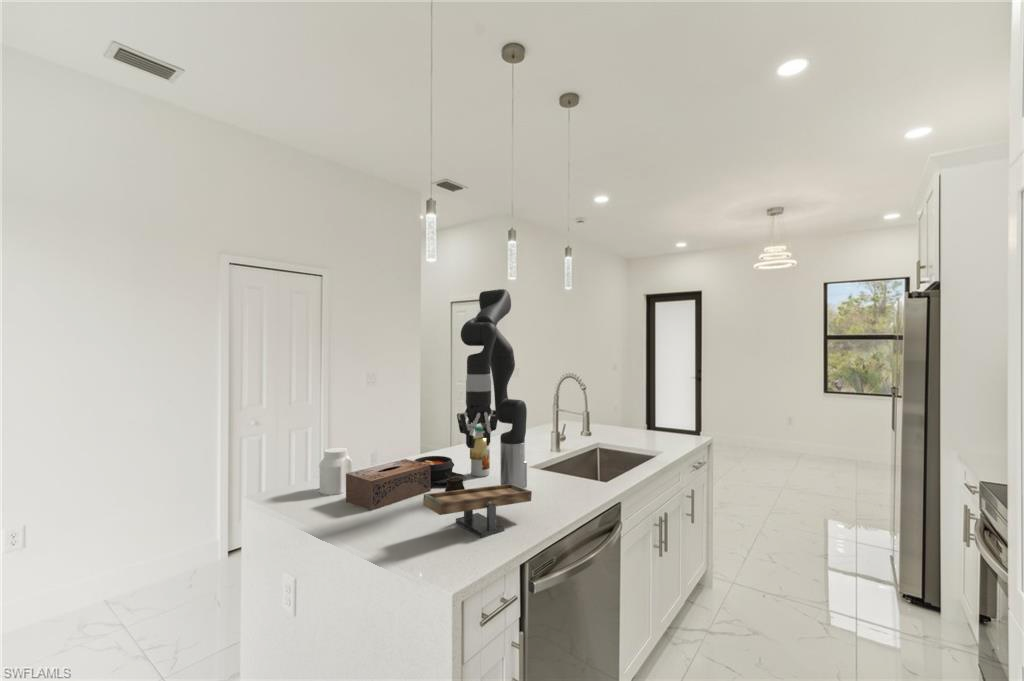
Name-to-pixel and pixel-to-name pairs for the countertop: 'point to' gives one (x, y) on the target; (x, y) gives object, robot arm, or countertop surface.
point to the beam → (475, 498)
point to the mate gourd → (454, 483)
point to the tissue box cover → (387, 483)
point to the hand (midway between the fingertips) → (478, 446)
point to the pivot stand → (481, 522)
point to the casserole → (439, 468)
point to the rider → (479, 448)
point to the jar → (334, 471)
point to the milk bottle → (480, 466)
